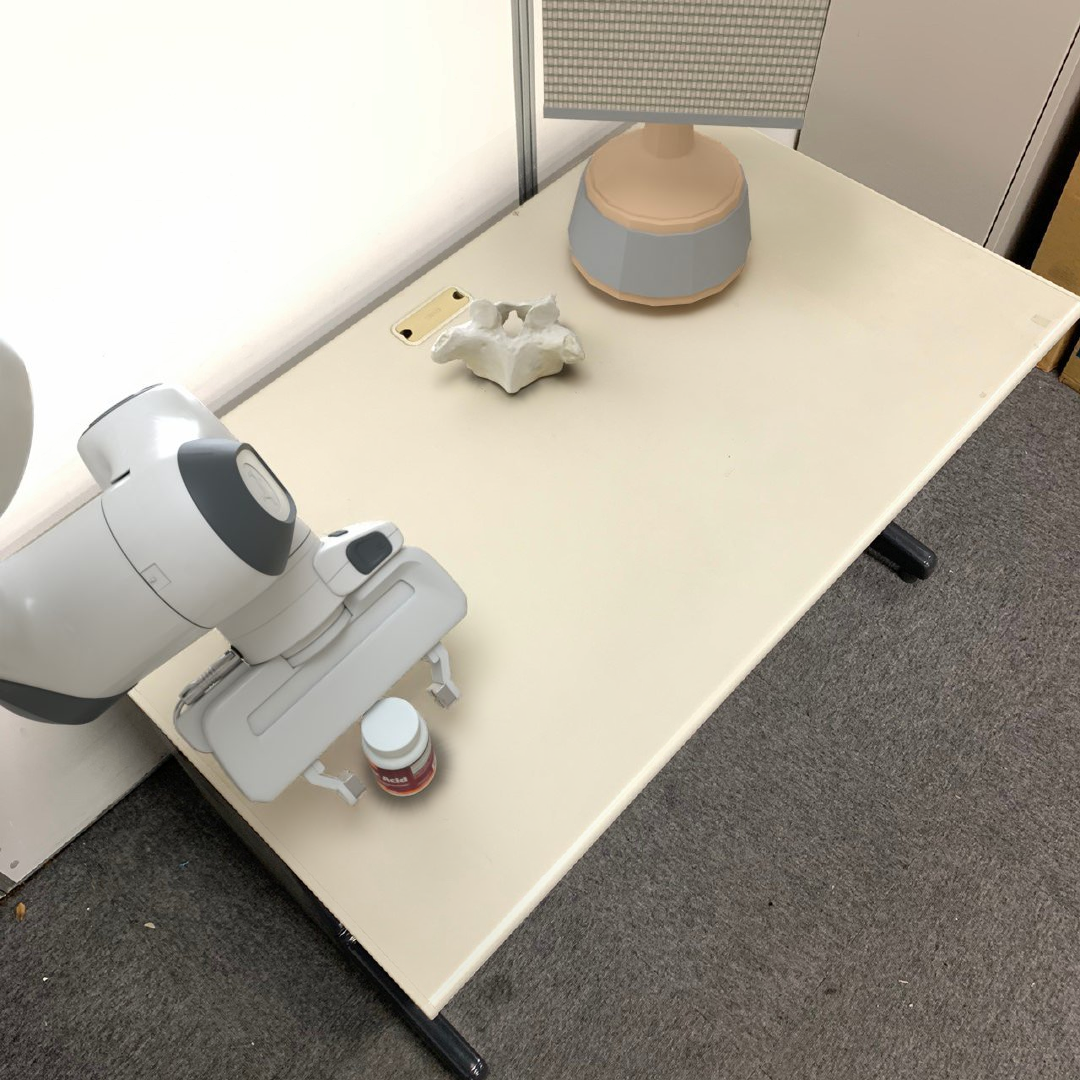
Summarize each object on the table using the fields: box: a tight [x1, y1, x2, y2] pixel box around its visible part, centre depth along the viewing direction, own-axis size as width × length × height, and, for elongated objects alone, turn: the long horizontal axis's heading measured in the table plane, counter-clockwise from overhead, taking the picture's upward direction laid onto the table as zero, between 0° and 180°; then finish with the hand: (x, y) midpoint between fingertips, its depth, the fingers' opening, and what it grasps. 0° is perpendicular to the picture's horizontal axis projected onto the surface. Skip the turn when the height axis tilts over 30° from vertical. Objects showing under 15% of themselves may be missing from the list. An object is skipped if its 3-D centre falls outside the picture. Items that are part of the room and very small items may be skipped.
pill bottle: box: [360, 696, 437, 797], centre depth 72 cm, size 5×5×8 cm
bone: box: [430, 292, 586, 394], centre depth 94 cm, size 9×14×8 cm, turn 104°
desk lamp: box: [541, 0, 830, 307], centre depth 91 cm, size 22×19×37 cm
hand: (405, 748), depth 71 cm, fingers open, 8 cm apart
